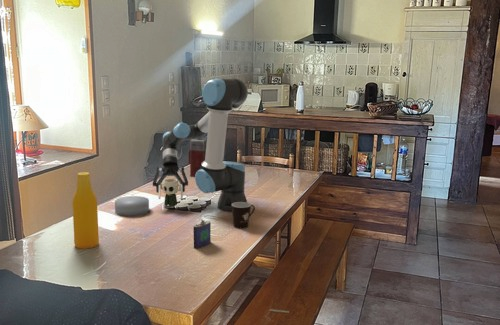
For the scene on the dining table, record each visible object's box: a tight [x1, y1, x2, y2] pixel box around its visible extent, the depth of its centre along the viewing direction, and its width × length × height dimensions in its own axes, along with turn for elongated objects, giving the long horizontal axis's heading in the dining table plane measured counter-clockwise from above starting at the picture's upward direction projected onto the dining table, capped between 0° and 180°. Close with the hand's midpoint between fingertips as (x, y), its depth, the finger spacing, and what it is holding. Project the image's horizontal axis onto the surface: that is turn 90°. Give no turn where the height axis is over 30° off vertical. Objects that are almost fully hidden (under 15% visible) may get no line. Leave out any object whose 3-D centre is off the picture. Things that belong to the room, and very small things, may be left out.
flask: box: [192, 219, 212, 249], centre depth 194 cm, size 9×3×11 cm, turn 144°
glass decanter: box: [188, 138, 207, 178], centre depth 306 cm, size 9×11×28 cm
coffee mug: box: [231, 201, 256, 229], centre depth 217 cm, size 12×9×10 cm
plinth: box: [114, 195, 150, 217], centre depth 235 cm, size 16×16×5 cm
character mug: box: [160, 178, 181, 207], centre depth 238 cm, size 11×7×13 cm, turn 75°
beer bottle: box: [71, 171, 100, 250], centre depth 189 cm, size 9×9×29 cm
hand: (170, 197), depth 235 cm, fingers closed on character mug, 10 cm apart
